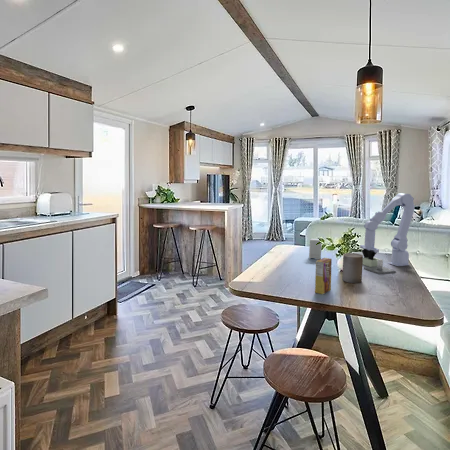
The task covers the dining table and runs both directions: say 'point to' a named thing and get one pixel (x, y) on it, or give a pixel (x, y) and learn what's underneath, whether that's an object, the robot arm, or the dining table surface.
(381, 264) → the post stand
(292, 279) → the dining table surface
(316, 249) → the supplement box
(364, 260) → the collar
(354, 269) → the pillar candle
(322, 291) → the candy box
